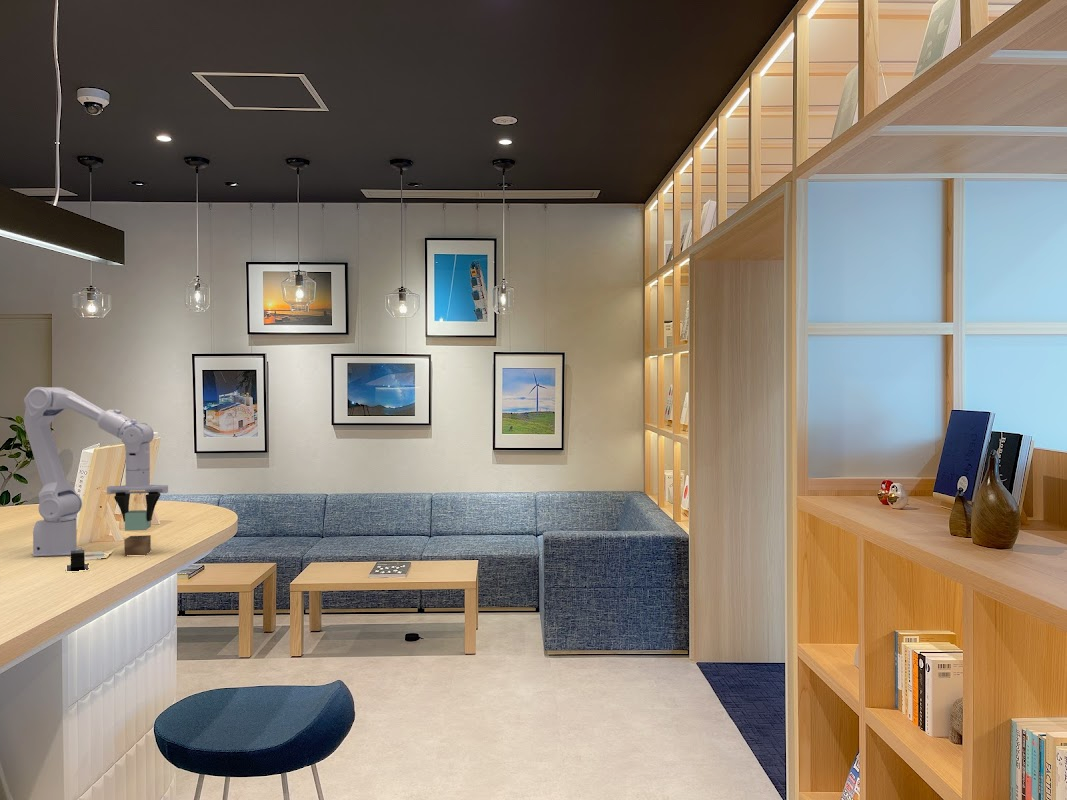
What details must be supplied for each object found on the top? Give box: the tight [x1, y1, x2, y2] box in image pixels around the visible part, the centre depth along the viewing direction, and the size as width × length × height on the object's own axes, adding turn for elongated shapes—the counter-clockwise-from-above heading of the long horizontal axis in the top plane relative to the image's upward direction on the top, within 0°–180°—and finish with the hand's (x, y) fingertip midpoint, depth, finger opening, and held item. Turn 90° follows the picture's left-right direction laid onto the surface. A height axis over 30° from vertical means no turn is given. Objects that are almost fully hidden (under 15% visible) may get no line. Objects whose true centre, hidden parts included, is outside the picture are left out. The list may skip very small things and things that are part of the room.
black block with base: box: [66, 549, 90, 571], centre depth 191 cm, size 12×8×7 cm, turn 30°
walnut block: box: [123, 534, 152, 557], centre depth 207 cm, size 5×5×4 cm
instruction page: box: [84, 550, 109, 561], centre depth 204 cm, size 7×10×1 cm
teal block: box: [124, 509, 152, 532], centre depth 207 cm, size 5×5×4 cm
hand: (137, 520), depth 207 cm, fingers closed on teal block, 5 cm apart
